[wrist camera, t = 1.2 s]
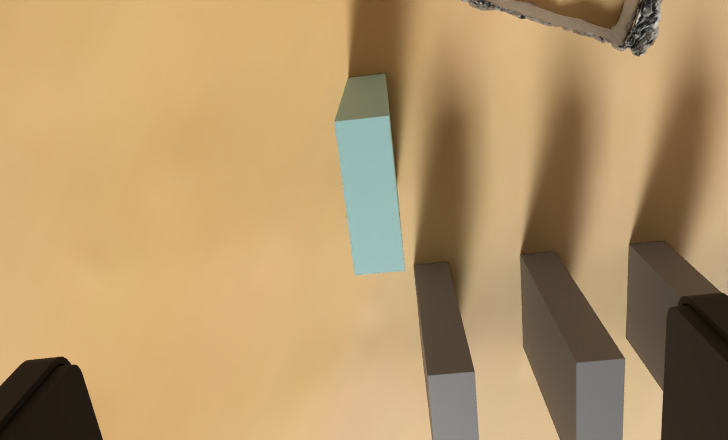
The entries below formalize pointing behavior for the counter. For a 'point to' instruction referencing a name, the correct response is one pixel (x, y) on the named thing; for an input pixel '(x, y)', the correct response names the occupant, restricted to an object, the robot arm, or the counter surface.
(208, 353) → the counter surface
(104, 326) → the counter surface
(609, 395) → the domino
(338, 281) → the counter surface
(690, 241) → the counter surface
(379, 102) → the teal domino
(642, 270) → the domino
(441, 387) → the domino
